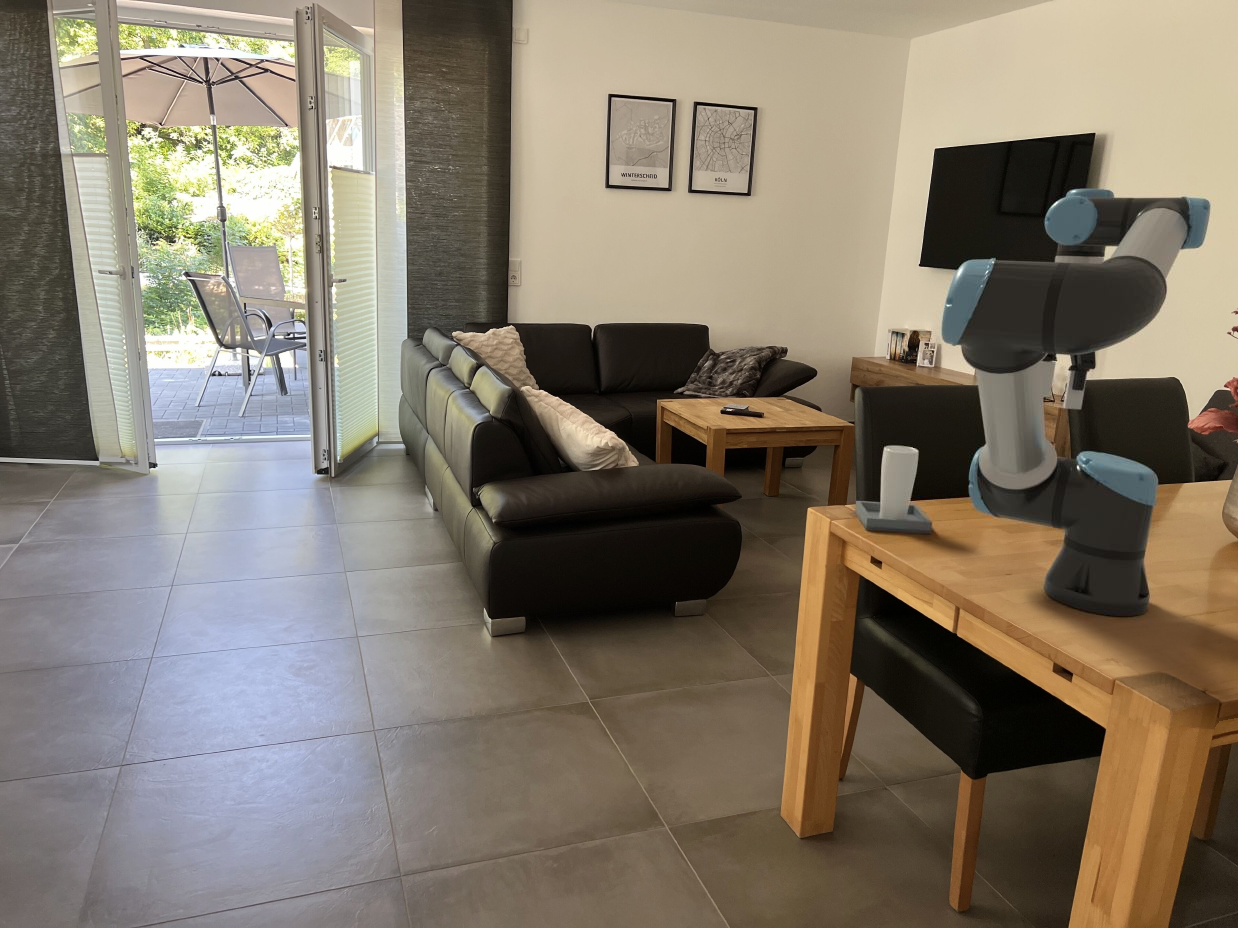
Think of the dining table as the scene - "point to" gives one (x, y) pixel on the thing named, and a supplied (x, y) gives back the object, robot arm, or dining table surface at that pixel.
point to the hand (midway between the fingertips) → (1056, 402)
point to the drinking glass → (897, 481)
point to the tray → (873, 522)
